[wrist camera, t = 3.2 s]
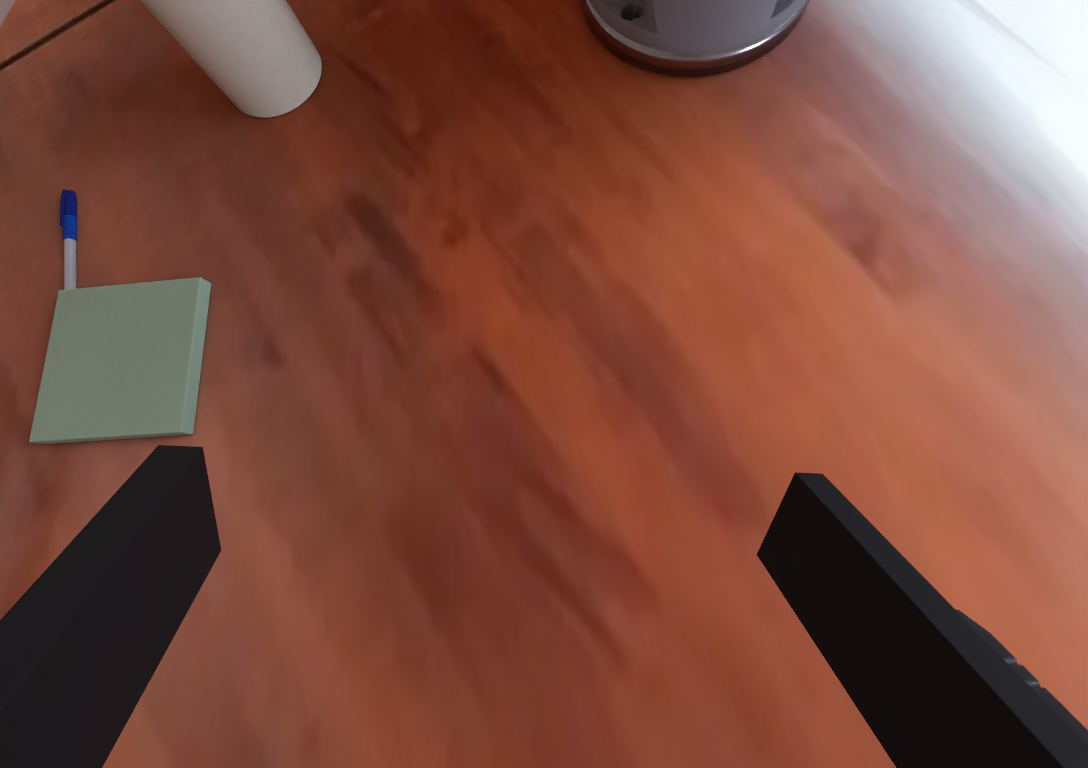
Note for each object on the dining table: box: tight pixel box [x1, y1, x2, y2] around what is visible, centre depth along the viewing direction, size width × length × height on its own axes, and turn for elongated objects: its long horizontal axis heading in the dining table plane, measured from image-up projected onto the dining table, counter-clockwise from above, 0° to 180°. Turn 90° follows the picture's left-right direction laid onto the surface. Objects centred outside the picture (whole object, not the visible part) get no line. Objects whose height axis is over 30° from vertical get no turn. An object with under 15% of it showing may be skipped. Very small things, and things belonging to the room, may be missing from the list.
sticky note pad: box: [29, 277, 211, 444], centre depth 32 cm, size 10×10×1 cm
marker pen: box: [60, 190, 77, 290], centre depth 35 cm, size 10×1×1 cm, turn 15°
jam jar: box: [139, 0, 322, 118], centre depth 32 cm, size 7×7×10 cm
